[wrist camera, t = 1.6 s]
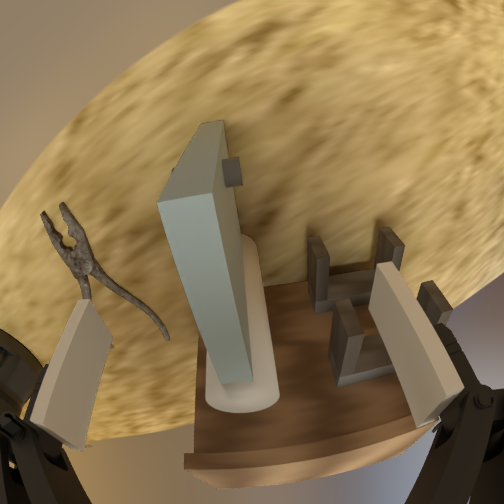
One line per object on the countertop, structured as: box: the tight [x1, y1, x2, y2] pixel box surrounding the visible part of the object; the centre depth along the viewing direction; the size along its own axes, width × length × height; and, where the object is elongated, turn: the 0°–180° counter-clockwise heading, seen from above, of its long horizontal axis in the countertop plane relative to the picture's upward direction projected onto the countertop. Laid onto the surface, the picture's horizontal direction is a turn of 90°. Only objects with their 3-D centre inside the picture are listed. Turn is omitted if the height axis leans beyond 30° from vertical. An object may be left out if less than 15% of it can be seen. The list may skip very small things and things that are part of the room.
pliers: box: [40, 202, 170, 348], centre depth 27 cm, size 10×1×20 cm
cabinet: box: [184, 227, 453, 488], centre depth 22 cm, size 18×14×17 cm
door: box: [157, 120, 280, 413], centre depth 17 cm, size 4×14×14 cm, turn 7°
